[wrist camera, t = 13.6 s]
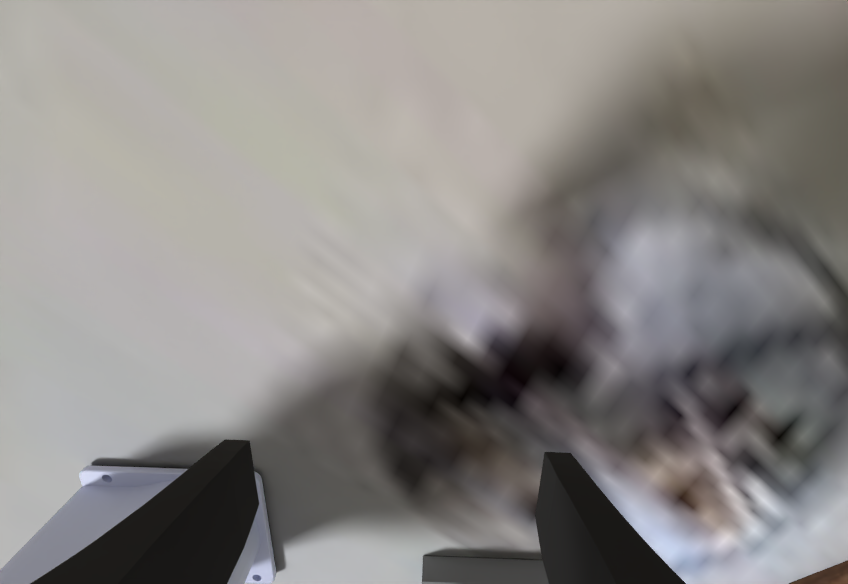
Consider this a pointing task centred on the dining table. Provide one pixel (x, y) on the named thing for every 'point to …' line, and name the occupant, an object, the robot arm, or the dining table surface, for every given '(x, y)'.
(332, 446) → the dining table surface
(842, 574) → the trivet
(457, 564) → the box
